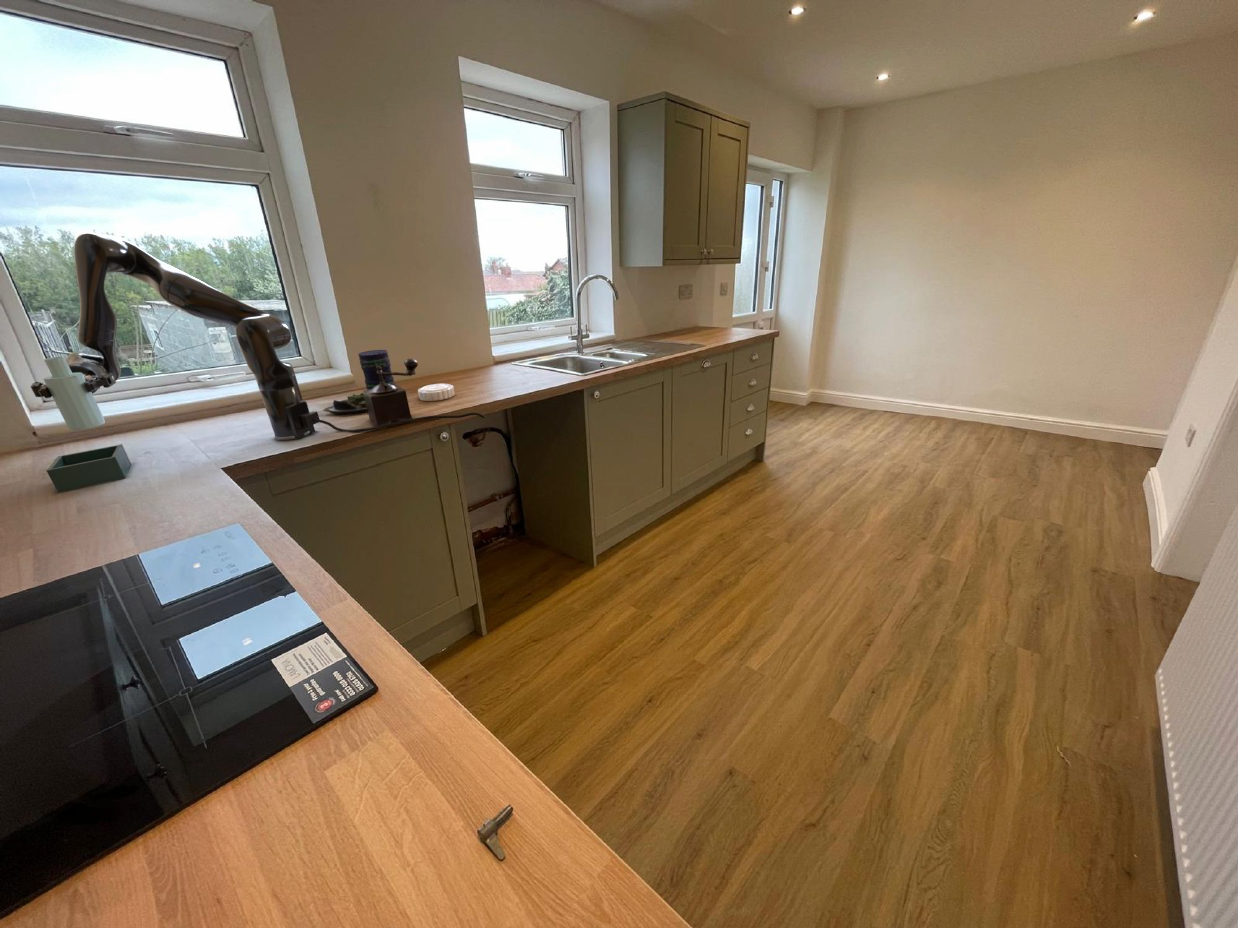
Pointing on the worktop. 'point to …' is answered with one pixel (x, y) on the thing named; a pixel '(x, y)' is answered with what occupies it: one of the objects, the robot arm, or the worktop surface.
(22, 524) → the worktop surface
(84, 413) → the bottle
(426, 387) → the mooncake
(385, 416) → the manual coffee grinder
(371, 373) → the storage jar
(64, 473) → the dark green open box
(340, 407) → the salad plate
